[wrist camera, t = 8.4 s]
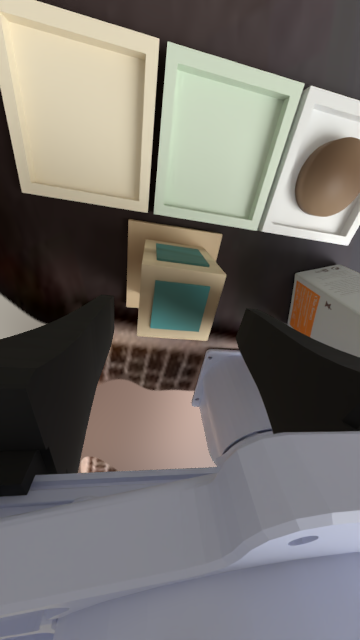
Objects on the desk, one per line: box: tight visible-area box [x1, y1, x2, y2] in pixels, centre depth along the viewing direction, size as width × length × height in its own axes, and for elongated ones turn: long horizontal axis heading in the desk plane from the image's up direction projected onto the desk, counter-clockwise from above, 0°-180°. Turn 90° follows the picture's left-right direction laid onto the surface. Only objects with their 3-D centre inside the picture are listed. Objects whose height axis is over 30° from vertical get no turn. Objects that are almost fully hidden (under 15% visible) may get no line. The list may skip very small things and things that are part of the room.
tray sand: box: [0, 0, 159, 213], centre depth 12 cm, size 8×8×1 cm
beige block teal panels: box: [137, 239, 226, 341], centre depth 14 cm, size 5×4×6 cm
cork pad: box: [126, 219, 222, 308], centre depth 17 cm, size 7×7×1 cm
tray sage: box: [154, 42, 304, 231], centre depth 13 cm, size 8×8×1 cm
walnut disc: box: [295, 137, 360, 217], centre depth 14 cm, size 4×4×1 cm
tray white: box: [257, 86, 360, 246], centre depth 15 cm, size 8×8×1 cm
